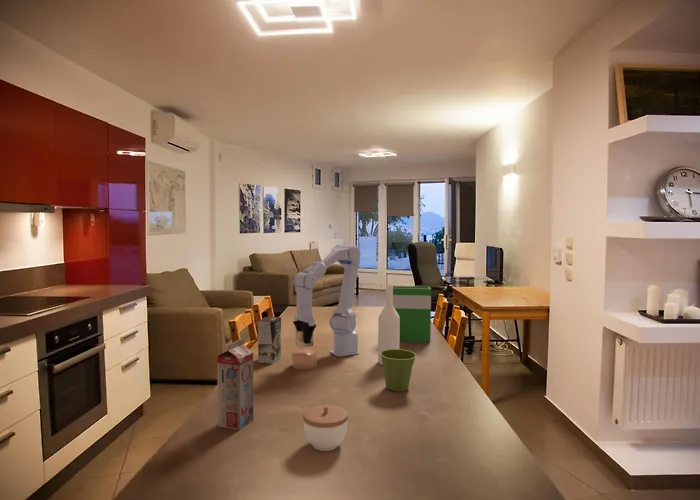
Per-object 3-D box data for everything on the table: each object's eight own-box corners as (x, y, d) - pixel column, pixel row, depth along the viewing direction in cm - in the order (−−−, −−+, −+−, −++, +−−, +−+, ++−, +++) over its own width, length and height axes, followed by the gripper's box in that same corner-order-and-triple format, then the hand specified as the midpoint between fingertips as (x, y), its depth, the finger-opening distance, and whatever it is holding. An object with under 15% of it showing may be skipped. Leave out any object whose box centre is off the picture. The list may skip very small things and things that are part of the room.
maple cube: (308, 342, 176) (308, 329, 176) (313, 346, 171) (313, 332, 171) (295, 344, 174) (295, 331, 173) (300, 347, 169) (300, 334, 169)
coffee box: (273, 364, 175) (273, 321, 174) (257, 362, 176) (257, 320, 175) (281, 357, 184) (281, 316, 183) (266, 356, 185) (266, 316, 184)
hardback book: (390, 341, 210) (391, 288, 208) (390, 337, 217) (391, 285, 216) (430, 342, 208) (431, 289, 207) (429, 338, 215) (429, 286, 214)
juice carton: (253, 419, 126) (252, 339, 125) (239, 430, 120) (239, 345, 118) (232, 416, 128) (231, 337, 127) (218, 426, 122) (217, 343, 121)
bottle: (402, 361, 179) (403, 284, 178) (395, 367, 172) (396, 286, 170) (382, 358, 183) (383, 282, 181) (374, 364, 175) (375, 285, 174)
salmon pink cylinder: (310, 361, 179) (310, 348, 179) (320, 367, 171) (320, 354, 171) (288, 364, 175) (288, 351, 175) (297, 371, 167) (297, 357, 167)
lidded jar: (303, 435, 117) (303, 398, 116) (346, 434, 118) (346, 397, 117) (302, 456, 106) (302, 416, 106) (349, 455, 107) (349, 415, 107)
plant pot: (392, 397, 143) (392, 361, 142) (372, 385, 153) (372, 351, 152) (423, 391, 148) (424, 356, 147) (402, 379, 159) (403, 347, 158)
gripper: (287, 302, 176) (287, 338, 177) (301, 309, 163) (301, 347, 164) (304, 301, 179) (304, 336, 180) (320, 307, 167) (320, 344, 167)
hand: (304, 341), depth 172 cm, fingers closed on maple cube, 5 cm apart
